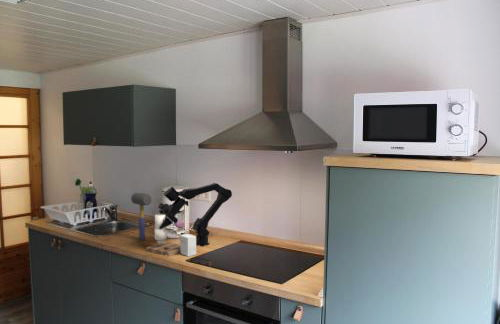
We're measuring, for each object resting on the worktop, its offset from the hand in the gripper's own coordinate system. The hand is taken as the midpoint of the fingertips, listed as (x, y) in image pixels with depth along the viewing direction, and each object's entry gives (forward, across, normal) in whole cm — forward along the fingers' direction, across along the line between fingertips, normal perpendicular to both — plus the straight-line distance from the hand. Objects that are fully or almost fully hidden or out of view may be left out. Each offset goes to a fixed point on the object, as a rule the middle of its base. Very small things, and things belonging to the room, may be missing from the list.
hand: (158, 227), depth 232 cm
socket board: (+6, +2, +13) cm, 14 cm away
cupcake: (-8, -32, +27) cm, 43 cm away
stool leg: (+5, 0, +7) cm, 9 cm away
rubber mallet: (+11, -28, +8) cm, 31 cm away
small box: (+1, +15, +18) cm, 24 cm away
